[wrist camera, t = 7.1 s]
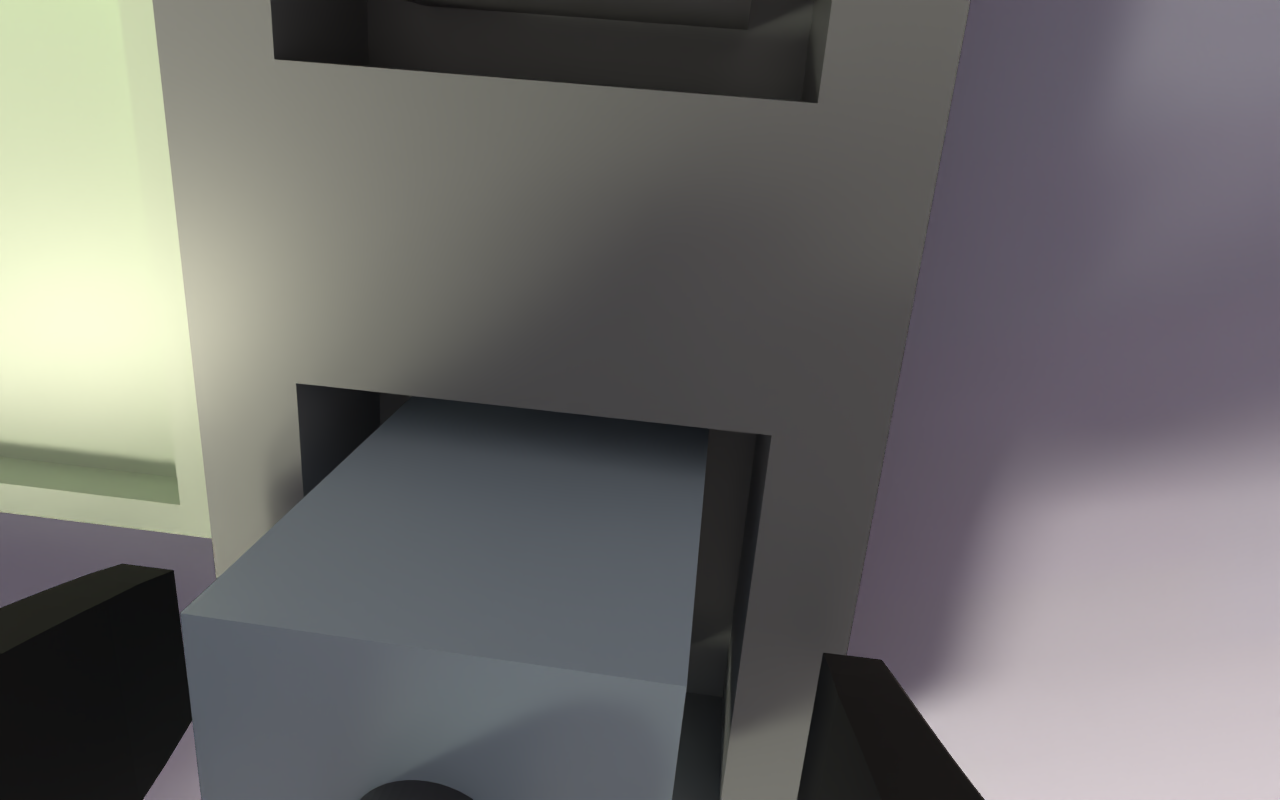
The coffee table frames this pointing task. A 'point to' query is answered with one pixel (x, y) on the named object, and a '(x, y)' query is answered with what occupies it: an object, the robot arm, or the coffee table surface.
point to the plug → (460, 617)
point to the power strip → (575, 276)
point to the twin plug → (621, 10)
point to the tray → (92, 276)
